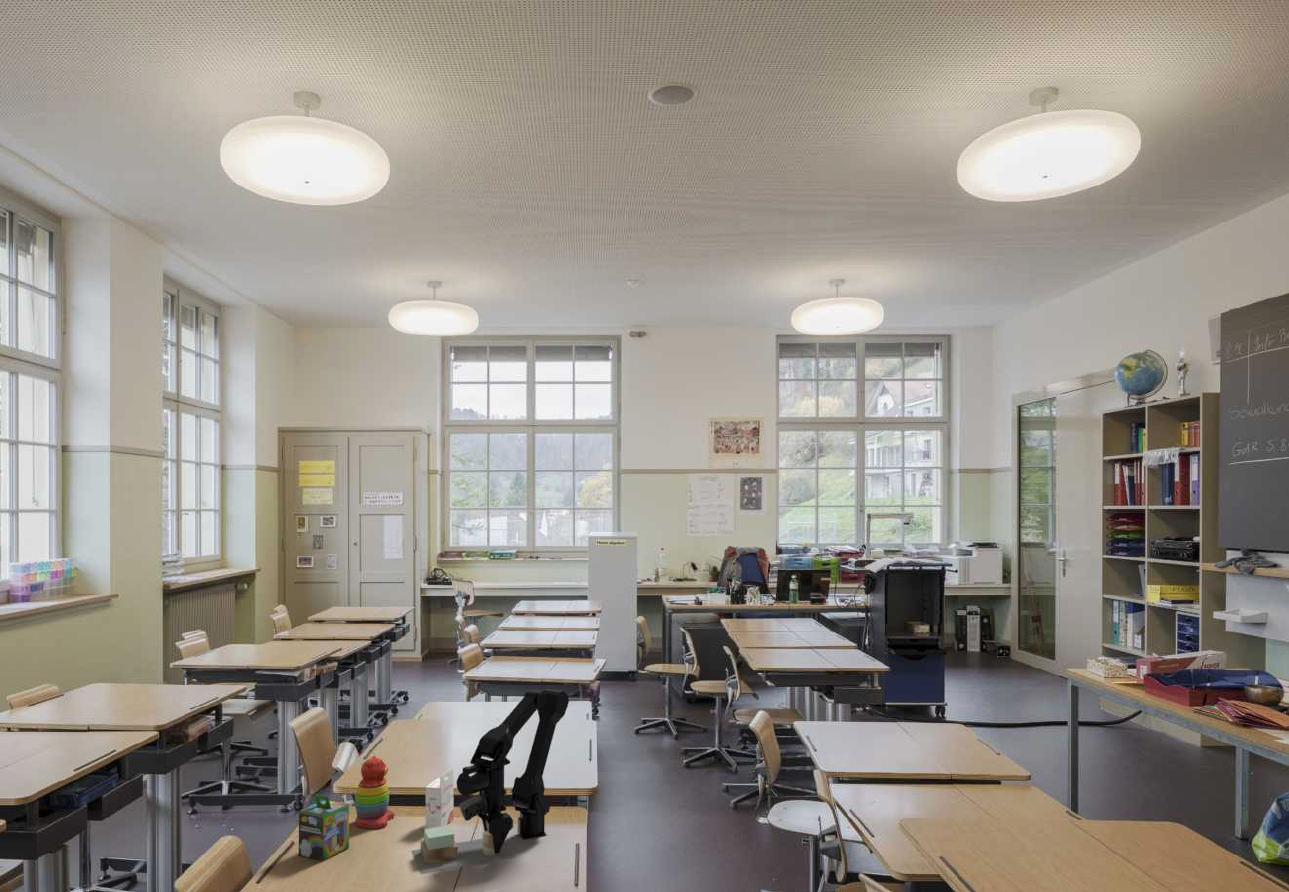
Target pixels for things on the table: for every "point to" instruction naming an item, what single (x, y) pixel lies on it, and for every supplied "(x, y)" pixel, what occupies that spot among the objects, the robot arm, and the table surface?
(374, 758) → the stacking bear
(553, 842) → the table surface
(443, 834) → the sage top block
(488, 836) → the maple cylinder
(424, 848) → the walnut base block
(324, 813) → the chalk box
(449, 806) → the ink cartridge box
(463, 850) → the rubber mat
